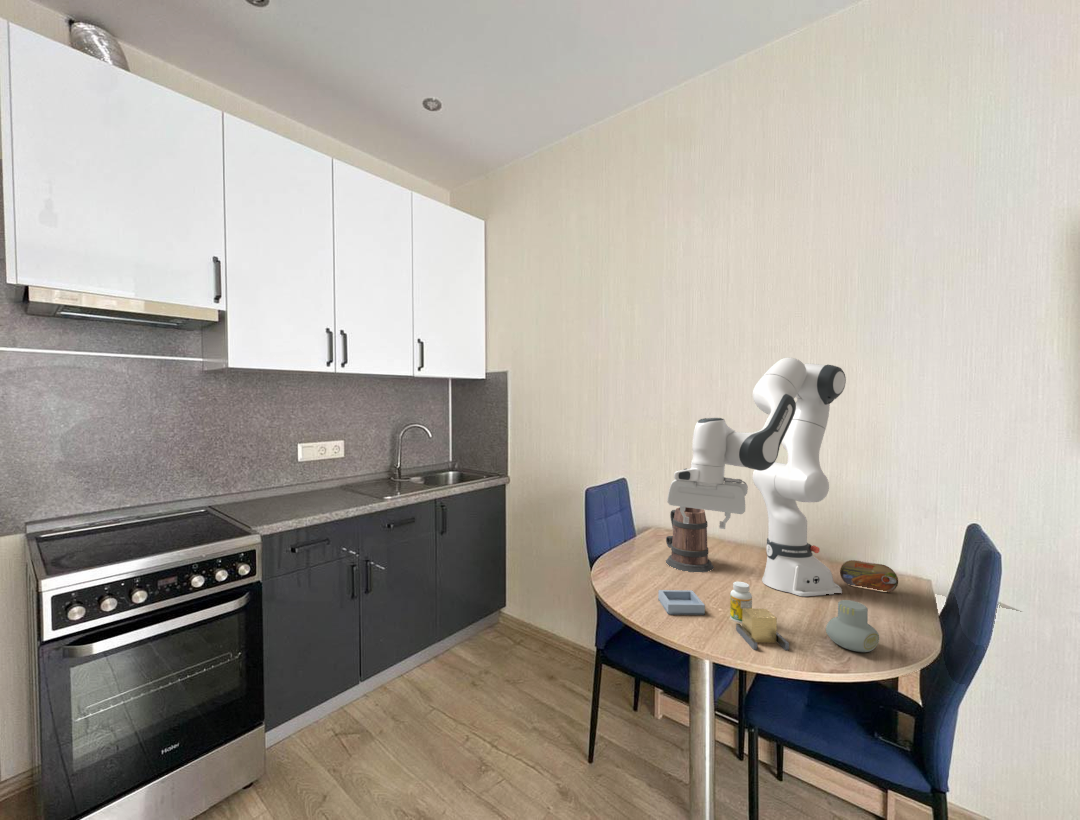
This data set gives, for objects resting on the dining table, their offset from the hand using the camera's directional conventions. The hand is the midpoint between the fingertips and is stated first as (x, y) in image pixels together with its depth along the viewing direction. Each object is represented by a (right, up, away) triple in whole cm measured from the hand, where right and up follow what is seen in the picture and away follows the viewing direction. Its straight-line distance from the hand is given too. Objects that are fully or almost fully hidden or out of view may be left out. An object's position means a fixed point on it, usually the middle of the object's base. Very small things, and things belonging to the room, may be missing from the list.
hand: (703, 526), depth 126 cm
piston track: (+9, -24, -11) cm, 28 cm away
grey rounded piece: (+30, -25, -16) cm, 42 cm away
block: (+9, -24, -13) cm, 29 cm away
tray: (-5, -24, +4) cm, 25 cm away
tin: (+60, -25, +20) cm, 68 cm away
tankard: (+8, -24, +44) cm, 51 cm away
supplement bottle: (+9, -25, -3) cm, 26 cm away
